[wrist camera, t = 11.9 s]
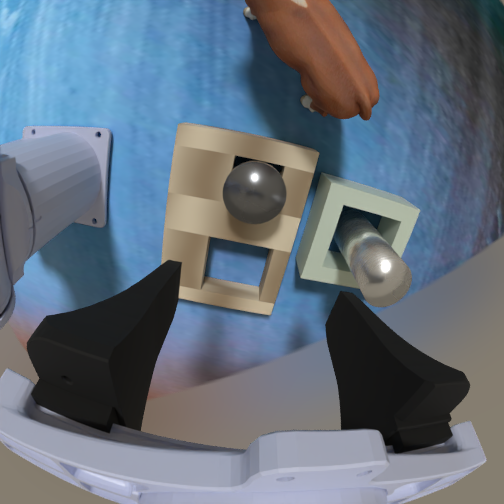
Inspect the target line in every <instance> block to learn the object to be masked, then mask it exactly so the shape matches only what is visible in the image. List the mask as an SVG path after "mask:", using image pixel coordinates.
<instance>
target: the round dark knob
mask: <svg viewBox="0 0 504 504" xmlns="http://www.w3.org/2000/svg"><path fill="white" fill-rule="evenodd" d="M286 195H287V192H286V186H285V183H284V180H283V178H282V176H281V174H280V173H279V172H278V171H277V170H276V169H275V168H274V167H273V166H271V165H269V164H267V163H265V162H261V161H248V162H244V163H242V164H240V165H238V166H236V167H235V168H234V169H233V170H232V171H231V172H230V173H229V175H228V176H227V178H226V181H225V183H224V186H223V201H224V204H225V206H226V208H227V210H228V211H229V213H230V214H231V215H232V216H233V217H235V218H236V219H238V220H239V221H242V222H244V223H248V224H261V223H265V222H268V221H270V220H272V219H273V218H275V217H276V216H277V215H278V214H279V213H280V212H281V210H282V209H283V207H284V205H285V202H286Z"/></svg>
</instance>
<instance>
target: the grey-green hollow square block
mask: <svg viewBox="0 0 504 504" xmlns="http://www.w3.org/2000/svg"><path fill="white" fill-rule="evenodd" d="M343 205H346V206H349V207H353V208H357V209H360V210H364V211H367V212H371V213H374V214H378V215H381V216H382V217H381V220H380V223H379V225H378V228H377V231H378V232H379V233H380V234H381V235H382V237H383V238H384V239H385V240H386V241H387V242H388V244H389V245H390V246H391V247H392V248H393V249H394V251H395V252H396V253H397V254H398V255H399V257H400V258H401V256H402V254H403V251H404V249H405V247H406V245H407V242H408V240H409V237H410V235H411V233H412V230H413V228H414V225H415V223H416V220H417V218H418V215H419V212H420V210H419V209H418V208H416V207H415V206H414V205H412V204H411V203H409V202H408V201H407V200H405V199H404V198H402V197H400V196H397V195H394V194H391V193H388V192H385V191H382V190H379V189H376V188H373V187H370V186H367V185H363V184H360V183H357V182H353V181H350V180H347V179H343V178H340V177H336V176H333V175H329V174H326V173H322V172H321V176H320V179H319V183H318V186H317V190H316V193H315V196H314V200H313V203H312V206H311V210H310V213H309V216H308V220H307V223H306V226H305V229H304V233H303V236H302V239H301V242H300V245H299V249H298V252H297V255H296V261H297V265H298V269H299V273H300V278H303V279H309V280H314V281H320V282H325V283H331V284H336V285H342V286H347V287H353V288H359V286H358V284H357V282H356V280H355V278H354V276H353V274H352V272H351V270H350V268H349V266H348V264H347V262H346V261H345V259H344V257H343V255H342V253H339V252H334V251H330V250H328V249H329V246H330V243H331V240H332V237H333V235H334V232H335V229H336V226H337V223H338V220H339V217H340V214H341V211H342V208H343ZM359 289H360V288H359Z"/></svg>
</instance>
